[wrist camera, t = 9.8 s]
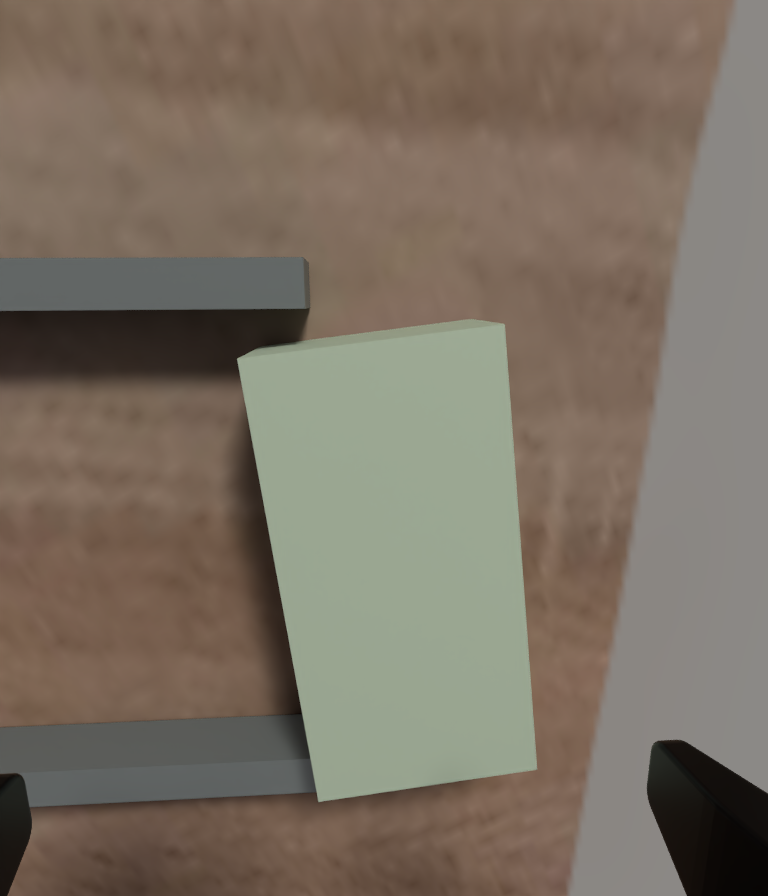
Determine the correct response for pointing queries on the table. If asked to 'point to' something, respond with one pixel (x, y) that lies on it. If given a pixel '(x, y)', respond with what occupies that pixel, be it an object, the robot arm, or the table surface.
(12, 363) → the table surface
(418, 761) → the block
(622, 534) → the table surface
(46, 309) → the channel
